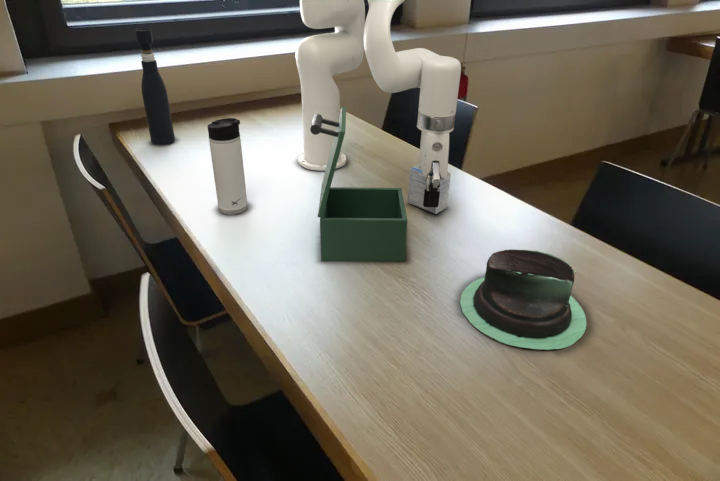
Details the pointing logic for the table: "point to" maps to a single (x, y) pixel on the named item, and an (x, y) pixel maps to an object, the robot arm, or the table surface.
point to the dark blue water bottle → (154, 93)
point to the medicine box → (419, 185)
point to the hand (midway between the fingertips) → (428, 196)
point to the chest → (363, 225)
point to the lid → (334, 152)
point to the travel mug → (228, 165)
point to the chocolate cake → (525, 301)
